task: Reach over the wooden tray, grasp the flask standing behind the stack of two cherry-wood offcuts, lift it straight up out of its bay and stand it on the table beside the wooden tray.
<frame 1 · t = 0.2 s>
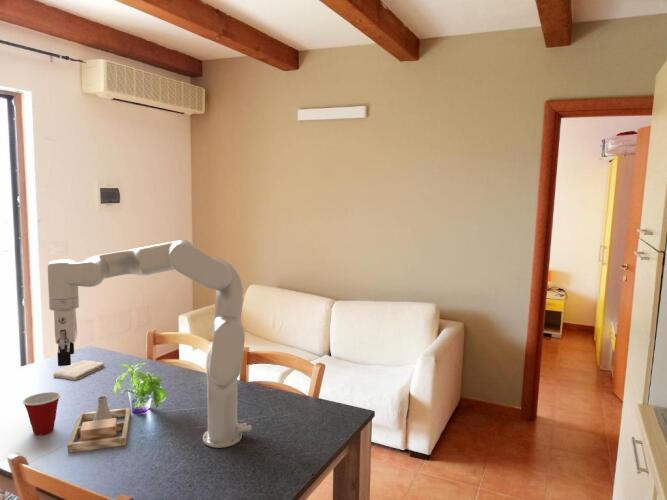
hand: (66, 359, 145), 31 cm above the table, tool pointing down, fingers open, 9 cm apart
offcut lower: (99, 441, 160), resting in wooden tray, touching offcut upper
flask: (103, 425, 169), on the table
washcloth: (80, 373, 215), on the table
plastic cup: (43, 431, 164), on the table
offcut upper: (99, 432, 159), point 3 cm above the table, touching offcut lower
wooden tray: (101, 431, 165), on the table
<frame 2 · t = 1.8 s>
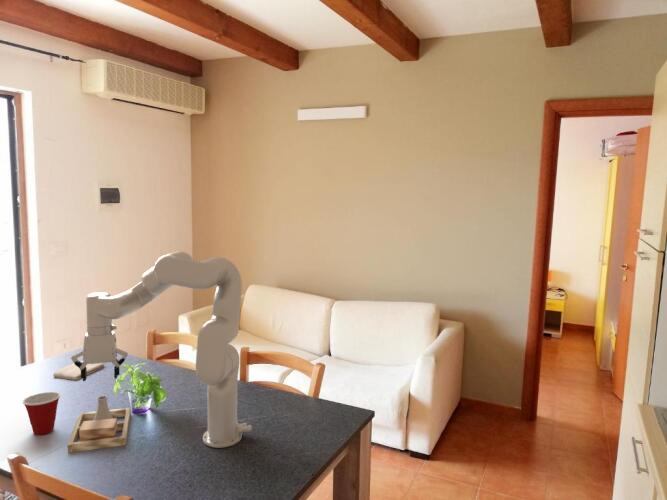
hand: (100, 378, 167), 17 cm above the table, tool pointing down, fingers open, 9 cm apart
nothing on the table moved.
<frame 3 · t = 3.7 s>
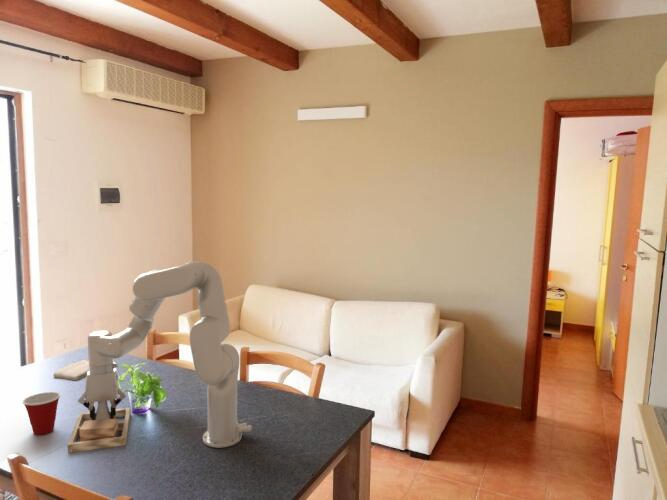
hand: (103, 418, 169), 3 cm above the table, tool pointing down, fingers closed on flask, 5 cm apart
offcut lower: (99, 441, 159), resting in wooden tray
flask: (103, 425, 169), on the table, touching gripper
offcut upper: (99, 432, 159), point 3 cm above the table
everything else where it was.
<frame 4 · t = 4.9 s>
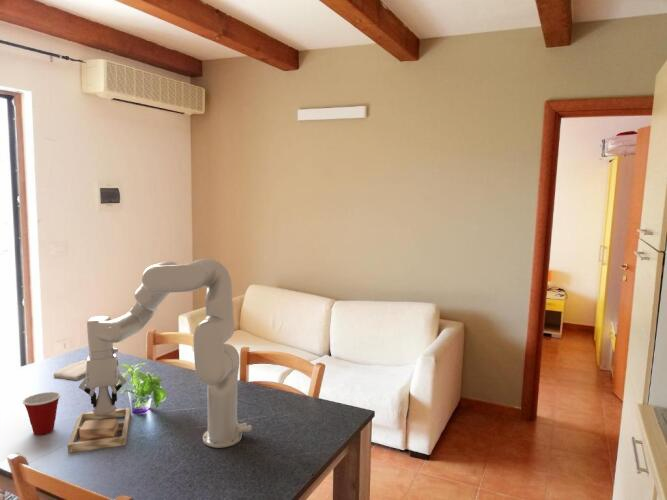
hand: (104, 404, 168), 8 cm above the table, tool pointing down, fingers closed on flask, 5 cm apart
offcut lower: (99, 441, 159), resting in wooden tray, touching offcut upper
flask: (104, 411, 169), point 5 cm above the table, touching gripper
offcut upper: (99, 432, 159), point 3 cm above the table, touching offcut lower
everything else where it was.
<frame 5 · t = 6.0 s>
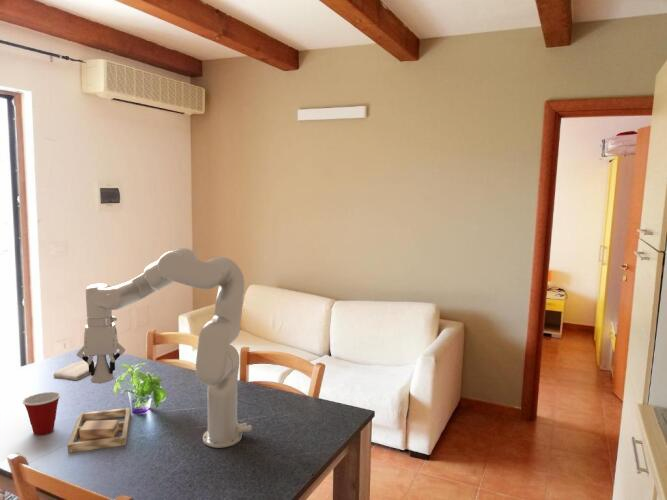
hand: (102, 372, 167), 19 cm above the table, tool pointing down, fingers closed on flask, 5 cm apart
flask: (102, 380, 167), point 16 cm above the table, touching gripper
everything else where it was.
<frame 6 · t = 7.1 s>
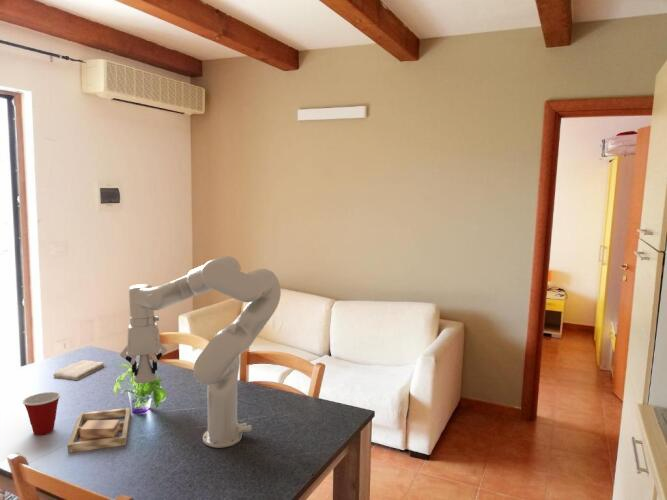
hand: (144, 372, 168), 19 cm above the table, tool pointing down, fingers closed on flask, 5 cm apart
flask: (145, 380, 168), point 16 cm above the table, touching gripper
everything else where it was.
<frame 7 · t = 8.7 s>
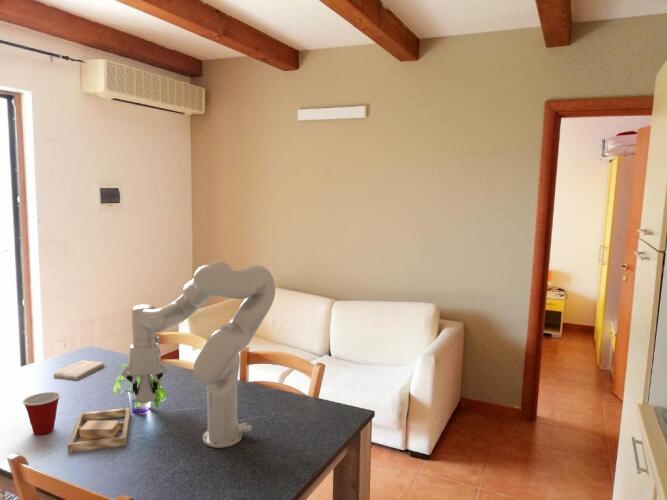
hand: (145, 392, 169), 12 cm above the table, tool pointing down, fingers closed on flask, 5 cm apart
flask: (145, 399, 169), point 9 cm above the table, touching gripper
everything else where it was.
when the fingers open (4 cm above the table, at t = 10.9 s): flask drops 1 cm, on the table.
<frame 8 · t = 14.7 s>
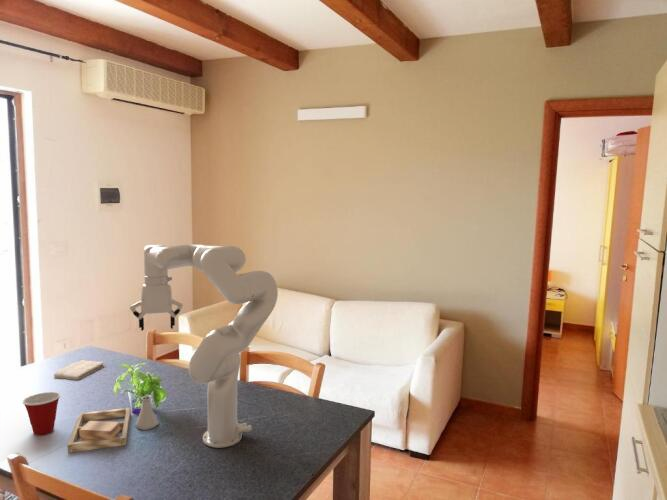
hand: (157, 328, 173), 32 cm above the table, tool pointing down, fingers open, 9 cm apart
flask: (147, 425, 170), on the table
offcut upper: (100, 434, 158), point 2 cm above the table, touching offcut lower, wooden tray
everything else where it was.
at the end: flask inside the target area (0.2 cm from its centre), on the table; flask tilted 0°; offcut upper moved 1.5 cm from its start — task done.
